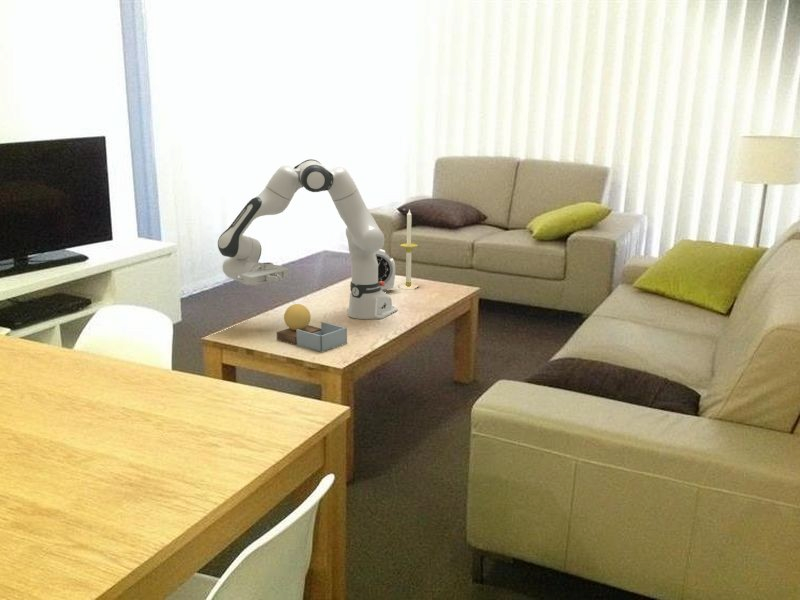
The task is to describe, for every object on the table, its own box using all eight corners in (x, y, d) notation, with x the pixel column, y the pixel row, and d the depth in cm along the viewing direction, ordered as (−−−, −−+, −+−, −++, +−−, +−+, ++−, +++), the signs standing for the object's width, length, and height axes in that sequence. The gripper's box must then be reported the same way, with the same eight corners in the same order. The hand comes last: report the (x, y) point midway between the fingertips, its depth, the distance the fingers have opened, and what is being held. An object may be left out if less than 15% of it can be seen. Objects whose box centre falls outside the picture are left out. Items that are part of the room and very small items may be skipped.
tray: (322, 336, 308) (322, 321, 306) (346, 343, 300) (346, 327, 299) (296, 345, 298) (296, 329, 296) (321, 352, 290) (321, 336, 288)
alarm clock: (356, 293, 371) (355, 250, 366) (356, 289, 380) (356, 246, 374) (395, 293, 371) (395, 250, 366) (395, 289, 380) (395, 247, 374)
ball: (297, 324, 312) (297, 299, 310) (316, 329, 306) (315, 304, 304) (278, 330, 305) (278, 304, 302) (297, 335, 299) (296, 309, 296)
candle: (421, 288, 381) (422, 210, 372) (401, 289, 379) (402, 210, 369) (415, 283, 391) (416, 206, 381) (395, 285, 388) (396, 207, 378)
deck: (303, 331, 314) (303, 323, 313) (322, 336, 308) (321, 328, 307) (276, 339, 304) (276, 332, 303) (295, 345, 298) (295, 337, 297)
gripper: (233, 269, 306) (258, 275, 298) (273, 261, 321) (298, 266, 313) (234, 285, 308) (258, 291, 299) (274, 277, 323) (298, 282, 315)
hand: (279, 279), depth 306 cm, fingers closed
